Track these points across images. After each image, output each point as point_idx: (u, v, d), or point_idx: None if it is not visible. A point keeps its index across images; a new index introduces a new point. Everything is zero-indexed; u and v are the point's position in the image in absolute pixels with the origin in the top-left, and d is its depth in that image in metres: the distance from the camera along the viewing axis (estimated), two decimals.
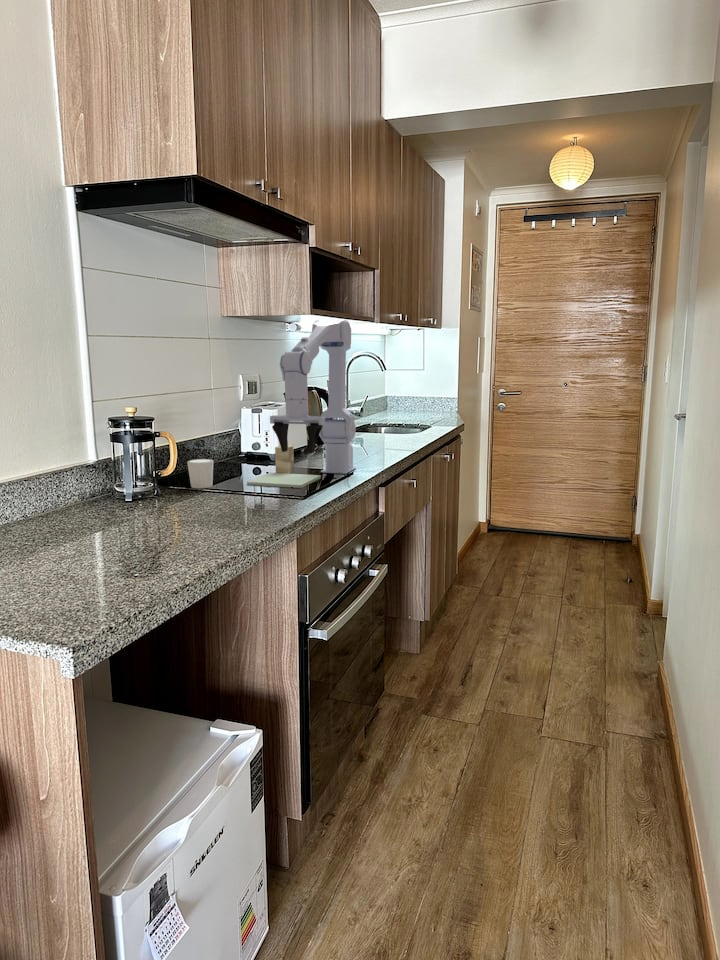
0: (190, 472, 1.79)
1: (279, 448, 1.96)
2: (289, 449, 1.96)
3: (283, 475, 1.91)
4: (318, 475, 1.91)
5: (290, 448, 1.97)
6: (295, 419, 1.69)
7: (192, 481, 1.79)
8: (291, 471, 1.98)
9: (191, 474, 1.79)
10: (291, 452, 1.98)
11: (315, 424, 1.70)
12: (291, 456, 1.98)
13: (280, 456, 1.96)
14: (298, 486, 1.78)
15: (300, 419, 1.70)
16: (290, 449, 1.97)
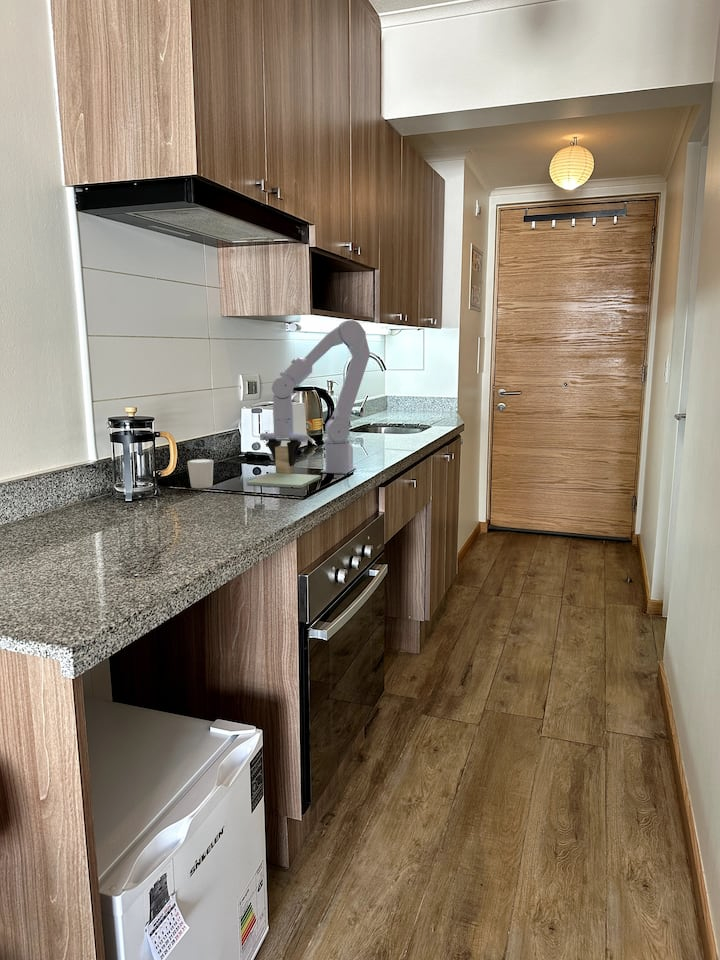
0: (190, 472, 1.79)
1: (279, 448, 1.96)
2: None
3: (283, 475, 1.91)
4: (318, 475, 1.91)
5: None
6: (282, 437, 1.93)
7: (192, 481, 1.79)
8: (291, 471, 1.98)
9: (191, 474, 1.79)
10: None
11: (299, 441, 1.94)
12: None
13: (280, 456, 1.96)
14: (298, 486, 1.78)
15: (286, 437, 1.94)
16: None
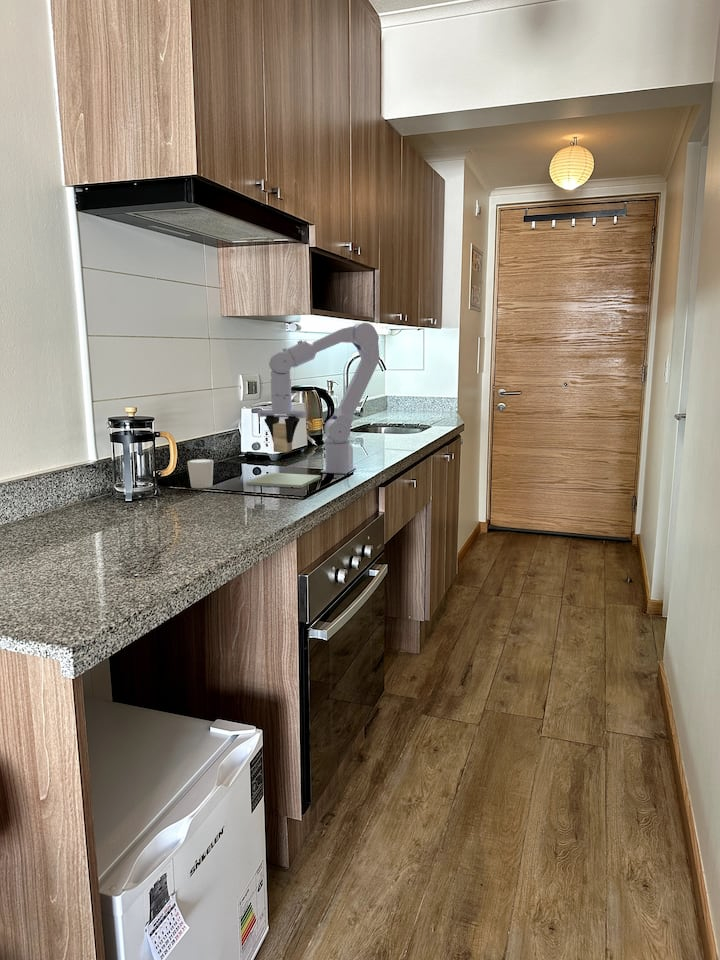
0: (190, 472, 1.79)
1: (277, 425, 1.93)
2: None
3: (283, 475, 1.91)
4: (318, 475, 1.91)
5: None
6: (279, 413, 1.91)
7: (192, 481, 1.79)
8: (289, 449, 1.96)
9: (191, 474, 1.79)
10: None
11: (297, 417, 1.92)
12: None
13: (278, 433, 1.94)
14: (298, 486, 1.78)
15: (284, 413, 1.91)
16: None
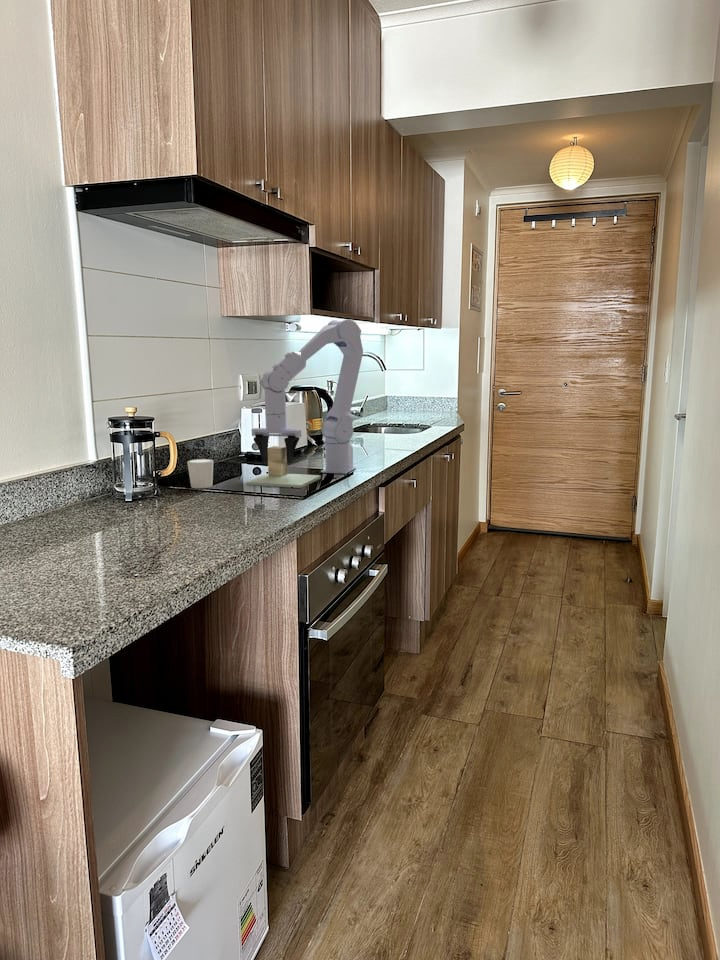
0: (190, 472, 1.79)
1: (272, 449, 1.89)
2: (282, 450, 1.89)
3: None
4: (318, 475, 1.91)
5: (283, 449, 1.90)
6: (274, 432, 1.86)
7: (192, 481, 1.79)
8: (284, 473, 1.91)
9: (191, 474, 1.79)
10: (284, 453, 1.91)
11: (292, 436, 1.87)
12: (284, 457, 1.91)
13: (273, 457, 1.89)
14: (298, 486, 1.78)
15: (278, 432, 1.86)
16: (283, 450, 1.90)
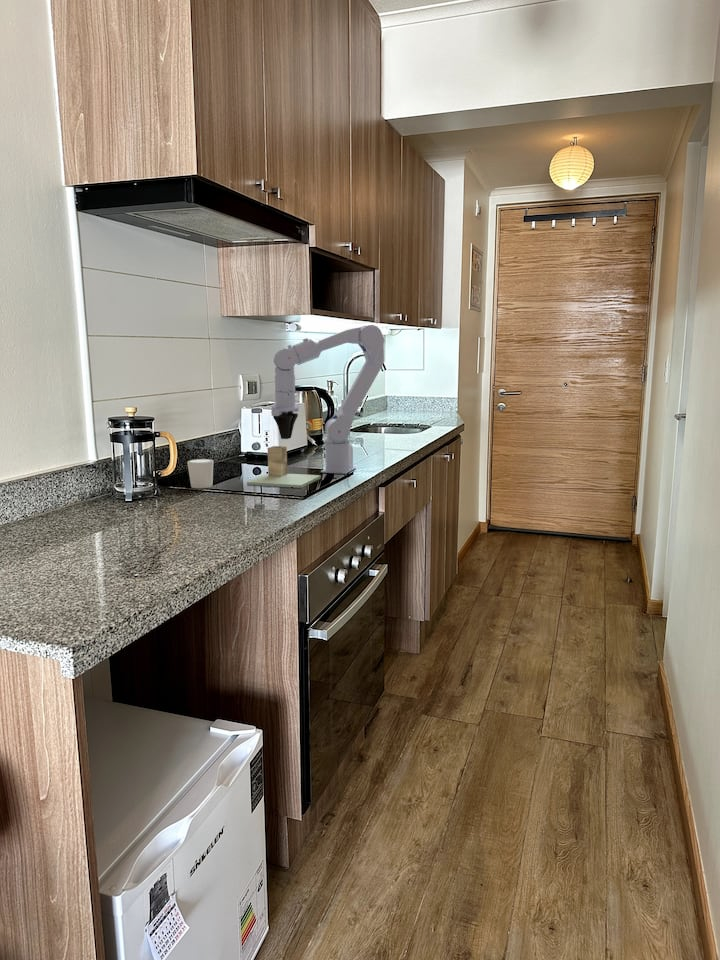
0: (190, 472, 1.79)
1: (272, 449, 1.89)
2: (282, 450, 1.89)
3: None
4: (318, 475, 1.91)
5: (283, 449, 1.90)
6: (273, 408, 1.95)
7: (192, 481, 1.79)
8: (284, 473, 1.91)
9: (191, 474, 1.79)
10: (284, 453, 1.91)
11: None
12: (284, 457, 1.91)
13: (273, 457, 1.89)
14: (298, 486, 1.78)
15: (274, 408, 1.94)
16: (283, 450, 1.90)
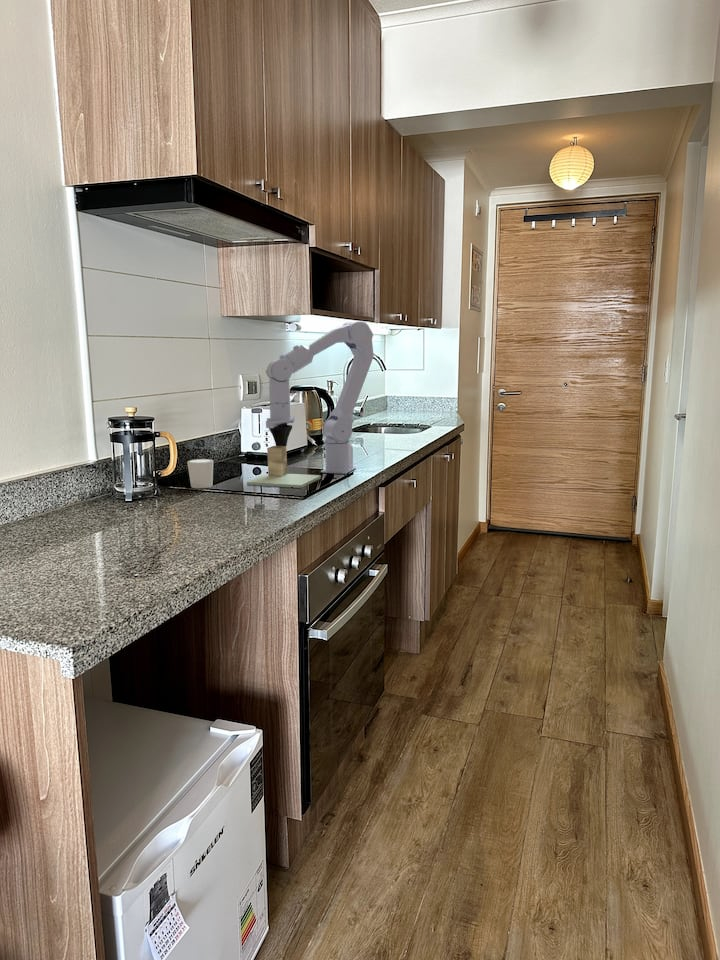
0: (190, 472, 1.79)
1: (271, 449, 1.89)
2: (281, 450, 1.89)
3: None
4: (318, 475, 1.91)
5: (283, 449, 1.90)
6: (268, 419, 1.92)
7: (192, 481, 1.79)
8: (284, 472, 1.91)
9: (191, 474, 1.79)
10: (284, 453, 1.91)
11: None
12: (284, 457, 1.91)
13: (272, 457, 1.89)
14: (298, 486, 1.78)
15: (269, 420, 1.91)
16: (283, 450, 1.90)
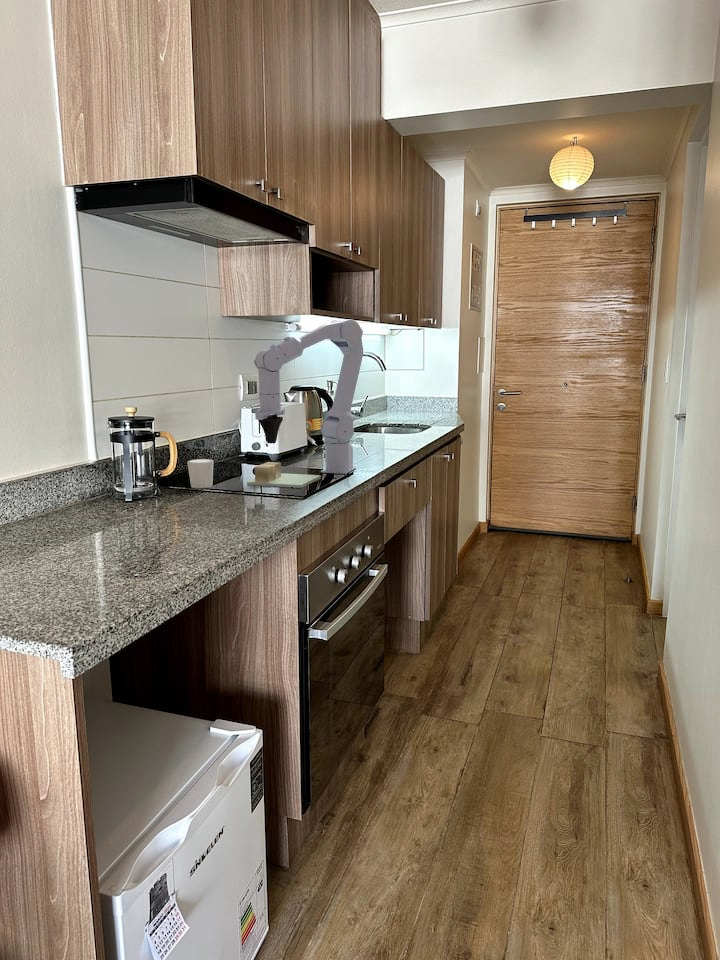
0: (190, 472, 1.79)
1: None
2: (269, 478, 1.83)
3: (283, 475, 1.91)
4: (318, 475, 1.91)
5: (269, 474, 1.82)
6: (257, 411, 1.86)
7: (192, 481, 1.79)
8: (280, 469, 1.88)
9: (191, 474, 1.79)
10: (271, 471, 1.83)
11: None
12: (272, 471, 1.84)
13: None
14: (298, 486, 1.78)
15: (259, 412, 1.85)
16: (269, 474, 1.82)
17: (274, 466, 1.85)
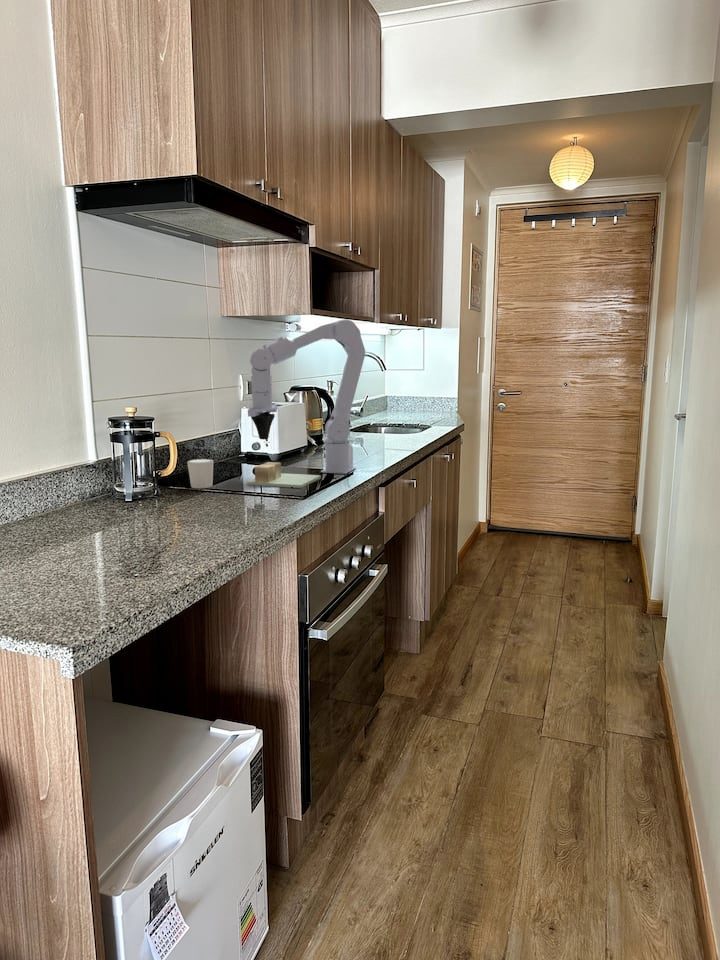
0: (190, 472, 1.79)
1: None
2: (269, 478, 1.83)
3: (283, 475, 1.91)
4: (318, 475, 1.91)
5: (269, 474, 1.82)
6: (250, 408, 1.94)
7: (192, 481, 1.79)
8: (280, 469, 1.88)
9: (191, 474, 1.79)
10: (271, 471, 1.83)
11: None
12: (272, 471, 1.84)
13: None
14: (298, 486, 1.78)
15: (251, 409, 1.93)
16: (269, 474, 1.82)
17: (274, 466, 1.85)
